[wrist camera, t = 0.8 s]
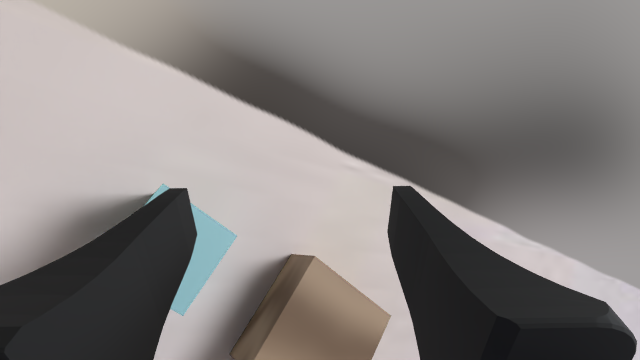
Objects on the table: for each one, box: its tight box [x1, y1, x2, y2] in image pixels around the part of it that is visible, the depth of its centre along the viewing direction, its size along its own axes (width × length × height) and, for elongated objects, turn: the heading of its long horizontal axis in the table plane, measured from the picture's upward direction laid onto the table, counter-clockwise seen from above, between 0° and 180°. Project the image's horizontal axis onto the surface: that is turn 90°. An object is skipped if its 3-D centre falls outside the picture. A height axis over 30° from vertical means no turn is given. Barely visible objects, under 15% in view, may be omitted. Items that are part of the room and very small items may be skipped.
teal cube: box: [144, 184, 237, 316], centre depth 21 cm, size 5×5×5 cm
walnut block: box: [230, 254, 391, 360], centre depth 26 cm, size 8×8×4 cm
